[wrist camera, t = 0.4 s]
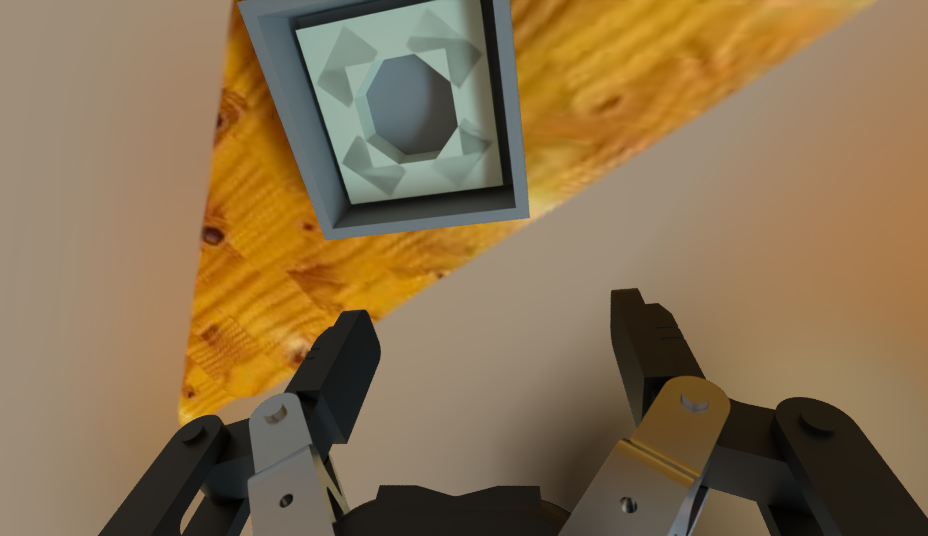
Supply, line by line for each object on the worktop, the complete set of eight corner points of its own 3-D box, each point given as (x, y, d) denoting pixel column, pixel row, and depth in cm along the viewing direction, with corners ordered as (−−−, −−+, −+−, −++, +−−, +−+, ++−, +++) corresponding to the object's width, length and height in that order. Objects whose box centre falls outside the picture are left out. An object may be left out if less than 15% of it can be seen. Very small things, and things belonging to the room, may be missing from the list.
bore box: (287, 7, 33) (236, 2, 27) (505, -43, 30) (503, -61, 24) (352, 210, 42) (325, 240, 36) (527, 188, 39) (529, 218, 33)
